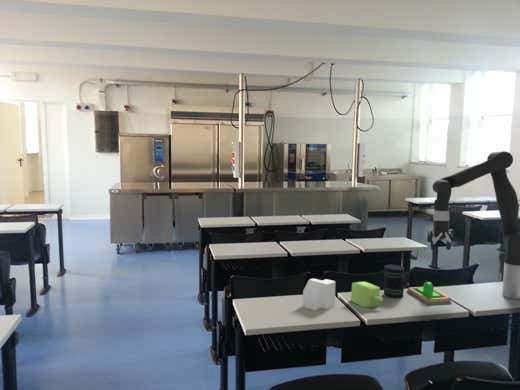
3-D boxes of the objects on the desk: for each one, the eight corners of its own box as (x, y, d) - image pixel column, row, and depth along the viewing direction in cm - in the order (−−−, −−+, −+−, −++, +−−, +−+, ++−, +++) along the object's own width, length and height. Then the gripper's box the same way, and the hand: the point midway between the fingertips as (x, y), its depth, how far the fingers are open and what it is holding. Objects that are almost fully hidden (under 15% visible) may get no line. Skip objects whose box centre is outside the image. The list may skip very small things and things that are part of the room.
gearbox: (388, 309, 198) (389, 289, 197) (372, 311, 193) (374, 291, 192) (361, 296, 214) (363, 278, 213) (346, 299, 209) (348, 280, 208)
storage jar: (382, 297, 213) (383, 268, 211) (383, 291, 222) (384, 263, 221) (403, 299, 210) (404, 270, 208) (403, 293, 219) (404, 265, 217)
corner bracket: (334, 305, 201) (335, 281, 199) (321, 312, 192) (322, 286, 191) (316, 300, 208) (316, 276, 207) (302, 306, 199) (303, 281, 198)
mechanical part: (440, 299, 207) (440, 283, 206) (428, 299, 206) (429, 284, 206) (427, 291, 219) (428, 276, 218) (416, 291, 218) (417, 277, 217)
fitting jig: (427, 290, 224) (427, 285, 224) (451, 303, 204) (451, 298, 204) (407, 291, 222) (407, 287, 221) (429, 305, 202) (429, 300, 202)
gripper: (448, 217, 220) (448, 247, 222) (424, 218, 217) (424, 249, 219) (458, 219, 213) (457, 250, 214) (433, 220, 210) (433, 252, 211)
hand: (440, 250), depth 216 cm, fingers open, 8 cm apart
